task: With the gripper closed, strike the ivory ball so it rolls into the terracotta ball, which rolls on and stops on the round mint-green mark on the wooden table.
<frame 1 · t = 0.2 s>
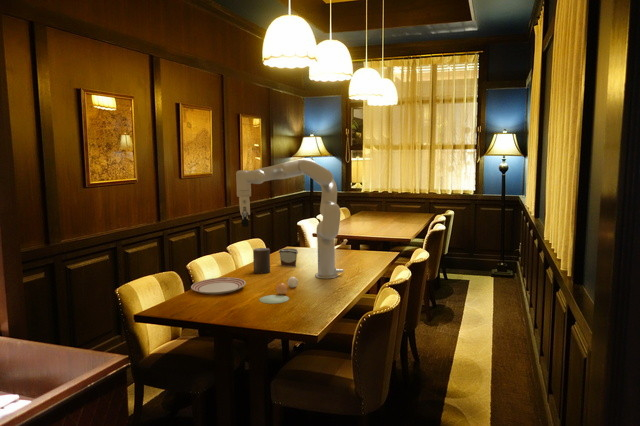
hand: (244, 225, 270), 31 cm above the table, tool pointing down, fingers open, 9 cm apart
object ball: (281, 288, 247), on the table
dinner plate: (218, 290, 258), on the table
food container: (290, 265, 314), on the table
cue ball: (292, 282, 260), on the table
pillar candle: (262, 272, 296), on the table
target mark: (274, 299, 239), on the table
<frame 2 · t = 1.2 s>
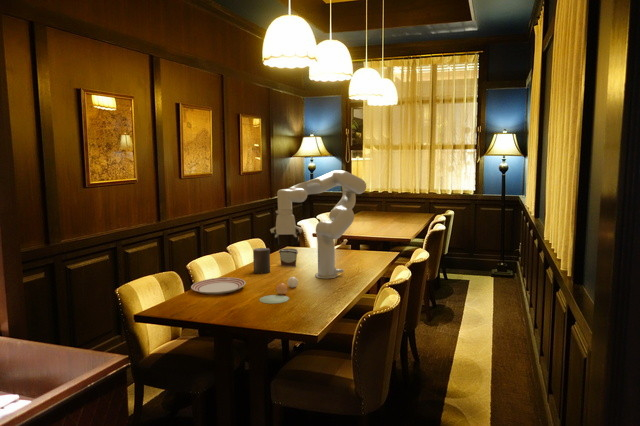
hand: (286, 244, 268), 21 cm above the table, tool pointing down, fingers open, 9 cm apart
nothing on the table moved.
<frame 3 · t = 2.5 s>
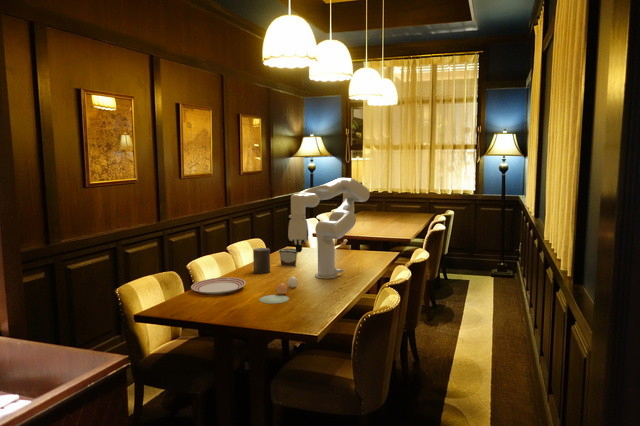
hand: (298, 251, 267), 17 cm above the table, tool pointing down, fingers closed
nothing on the table moved.
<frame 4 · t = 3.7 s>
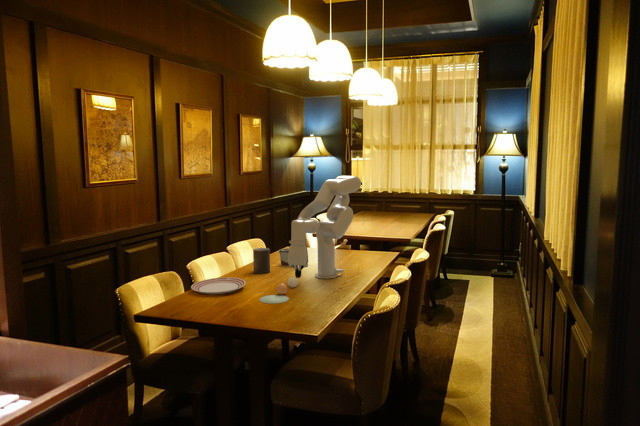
hand: (298, 277, 268), 3 cm above the table, tool pointing down, fingers closed
nothing on the table moved.
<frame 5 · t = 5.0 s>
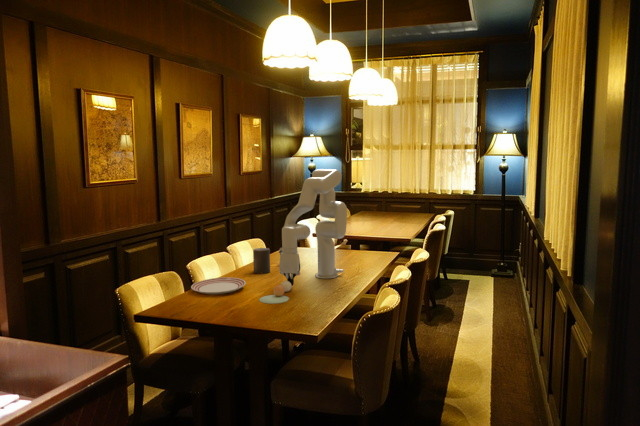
hand: (290, 285, 257), 2 cm above the table, tool pointing down, fingers closed
object ball: (279, 290, 244), on the table
cue ball: (286, 286, 252), on the table
everything else where it was.
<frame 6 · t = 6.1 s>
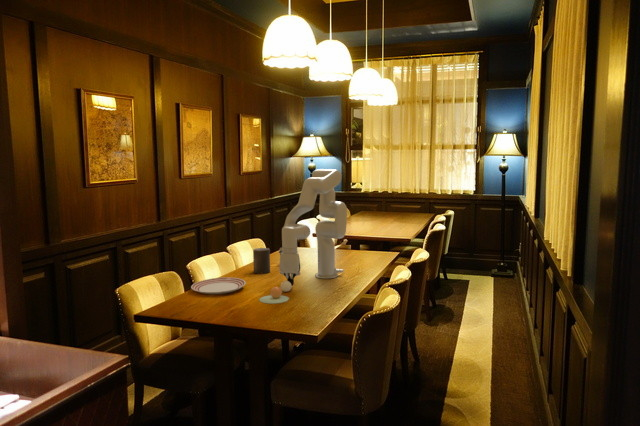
hand: (290, 285, 257), 2 cm above the table, tool pointing down, fingers closed
object ball: (276, 292, 241), on the table
everything else where it was.
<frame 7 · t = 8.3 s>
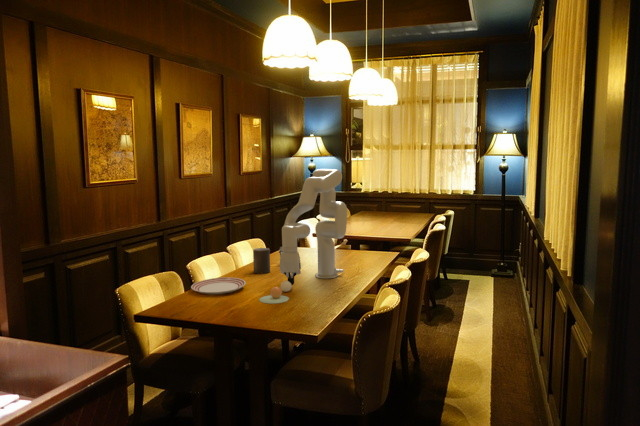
hand: (291, 284, 258), 2 cm above the table, tool pointing down, fingers closed
nothing on the table moved.
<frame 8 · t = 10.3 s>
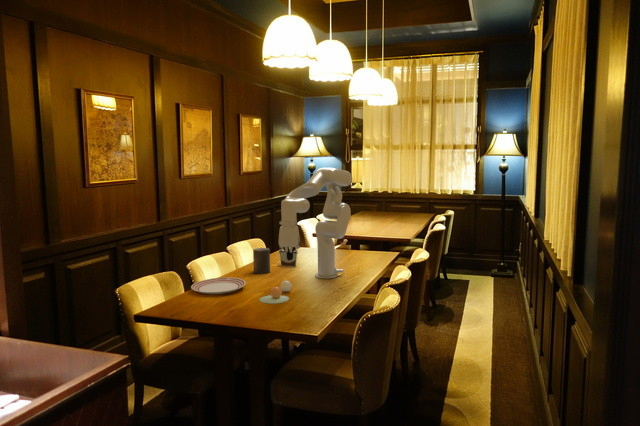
hand: (289, 259, 256), 15 cm above the table, tool pointing down, fingers closed
nothing on the table moved.
at the end: object ball 2.3 cm from the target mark (horizontally); object ball never touched the robot; cue ball first touched object ball at 4.6 s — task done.
